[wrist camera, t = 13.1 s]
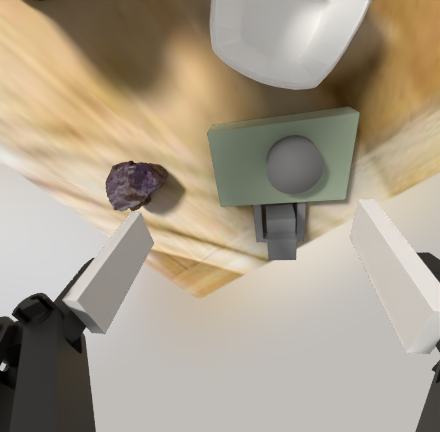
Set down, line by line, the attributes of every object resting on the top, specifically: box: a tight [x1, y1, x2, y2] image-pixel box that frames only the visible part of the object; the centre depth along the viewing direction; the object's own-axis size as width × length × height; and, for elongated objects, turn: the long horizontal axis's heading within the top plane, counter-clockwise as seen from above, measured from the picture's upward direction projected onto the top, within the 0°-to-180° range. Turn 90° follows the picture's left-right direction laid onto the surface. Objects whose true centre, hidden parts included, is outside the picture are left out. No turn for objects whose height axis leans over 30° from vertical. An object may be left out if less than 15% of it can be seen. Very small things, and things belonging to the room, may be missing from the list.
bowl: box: [210, 0, 372, 90], centre depth 26 cm, size 15×15×11 cm
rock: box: [106, 161, 167, 211], centre depth 45 cm, size 12×9×10 cm
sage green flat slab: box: [207, 106, 360, 242], centre depth 41 cm, size 22×26×9 cm
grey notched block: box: [266, 203, 297, 260], centre depth 44 cm, size 5×8×10 cm, turn 9°
